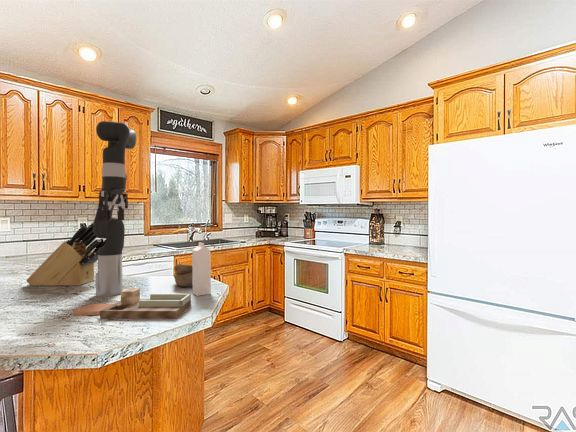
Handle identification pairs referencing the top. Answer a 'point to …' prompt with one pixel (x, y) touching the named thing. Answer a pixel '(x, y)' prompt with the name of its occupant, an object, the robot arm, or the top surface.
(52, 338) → the top surface
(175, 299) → the grey green shallow tray
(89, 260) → the knife block
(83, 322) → the top surface
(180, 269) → the bowl
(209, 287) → the milk
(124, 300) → the block
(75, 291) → the top surface
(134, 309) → the dark brown flat tray
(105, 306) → the tile
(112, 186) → the robot arm
